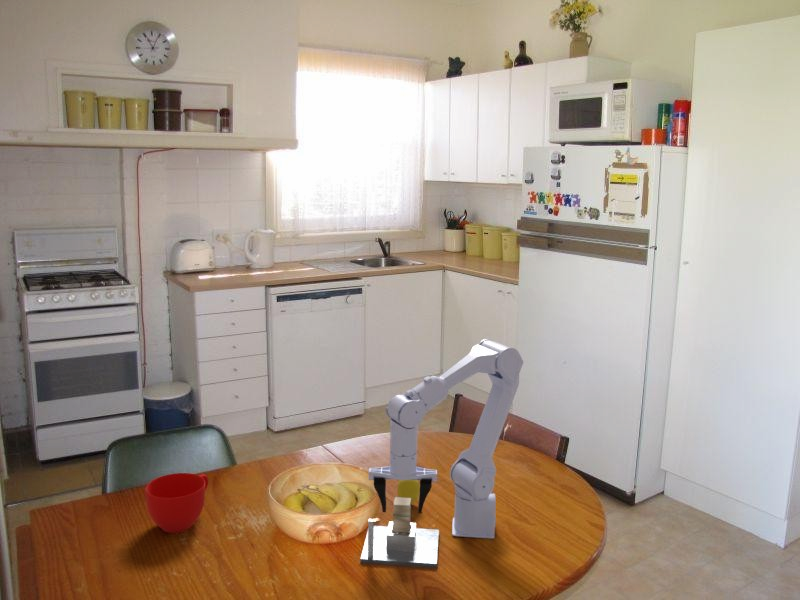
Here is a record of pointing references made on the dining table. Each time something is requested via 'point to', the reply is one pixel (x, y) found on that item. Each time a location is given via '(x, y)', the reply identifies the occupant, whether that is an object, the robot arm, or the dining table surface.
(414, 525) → the stand
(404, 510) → the block
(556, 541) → the dining table surface
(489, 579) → the dining table surface
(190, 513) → the ceramic cup
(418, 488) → the lemon
